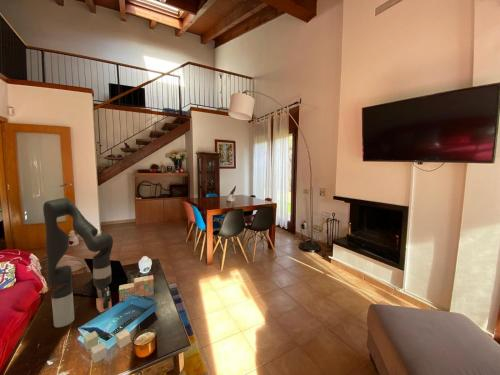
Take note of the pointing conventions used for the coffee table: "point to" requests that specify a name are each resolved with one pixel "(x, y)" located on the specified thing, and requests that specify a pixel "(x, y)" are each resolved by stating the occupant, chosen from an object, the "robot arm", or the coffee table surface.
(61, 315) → the robot arm
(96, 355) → the beige cube
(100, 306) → the terracotta cube
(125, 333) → the cream cube
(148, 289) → the stack of blocks
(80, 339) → the coffee table surface
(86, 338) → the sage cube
